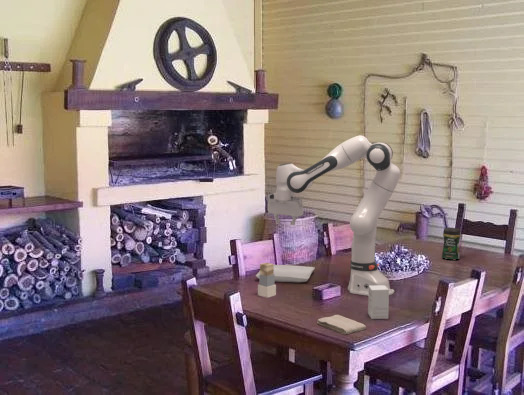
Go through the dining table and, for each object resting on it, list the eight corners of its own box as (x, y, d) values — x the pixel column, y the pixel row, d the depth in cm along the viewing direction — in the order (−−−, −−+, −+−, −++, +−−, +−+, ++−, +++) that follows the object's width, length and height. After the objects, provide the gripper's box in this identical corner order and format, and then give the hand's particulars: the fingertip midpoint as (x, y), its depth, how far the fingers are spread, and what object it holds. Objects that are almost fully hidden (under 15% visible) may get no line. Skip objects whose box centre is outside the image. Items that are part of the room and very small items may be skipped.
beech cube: (273, 274, 318) (273, 263, 317) (266, 276, 315) (266, 265, 314) (266, 272, 321) (266, 262, 320) (259, 274, 318) (259, 264, 317)
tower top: (274, 284, 319) (274, 274, 318) (267, 286, 315) (267, 276, 314) (266, 283, 322) (266, 272, 321) (259, 285, 318) (259, 274, 318)
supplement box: (384, 313, 290) (385, 284, 288) (388, 319, 282) (389, 289, 281) (367, 314, 289) (368, 285, 288) (370, 319, 282) (371, 289, 280)
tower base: (275, 295, 319) (276, 284, 319) (267, 297, 315) (267, 287, 314) (266, 292, 323) (266, 282, 323) (257, 295, 319) (257, 285, 318)
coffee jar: (440, 259, 396) (441, 228, 393) (444, 257, 402) (445, 226, 400) (457, 261, 391) (458, 229, 388) (460, 258, 397) (462, 227, 395)
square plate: (308, 285, 338) (308, 277, 338) (254, 282, 344) (254, 275, 343) (315, 272, 365) (315, 265, 364) (265, 270, 370) (265, 263, 370)
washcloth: (336, 319, 283) (336, 312, 283) (367, 330, 269) (367, 323, 269) (314, 325, 276) (314, 317, 276) (345, 336, 262) (345, 328, 262)
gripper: (305, 197, 330) (305, 225, 332) (273, 193, 343) (273, 221, 345) (297, 198, 325) (297, 226, 327) (265, 195, 339) (265, 222, 340)
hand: (285, 223), depth 336 cm, fingers open, 8 cm apart
